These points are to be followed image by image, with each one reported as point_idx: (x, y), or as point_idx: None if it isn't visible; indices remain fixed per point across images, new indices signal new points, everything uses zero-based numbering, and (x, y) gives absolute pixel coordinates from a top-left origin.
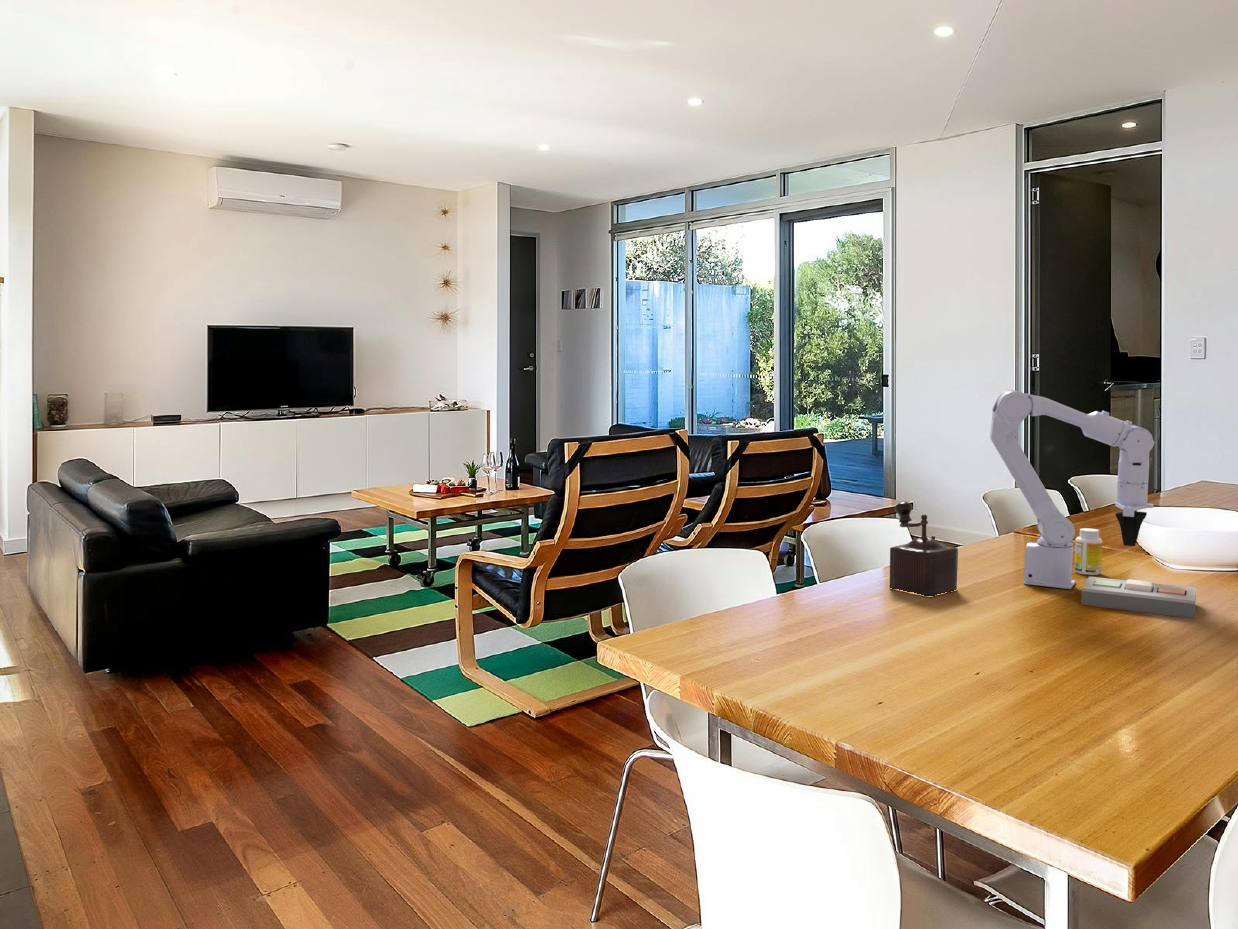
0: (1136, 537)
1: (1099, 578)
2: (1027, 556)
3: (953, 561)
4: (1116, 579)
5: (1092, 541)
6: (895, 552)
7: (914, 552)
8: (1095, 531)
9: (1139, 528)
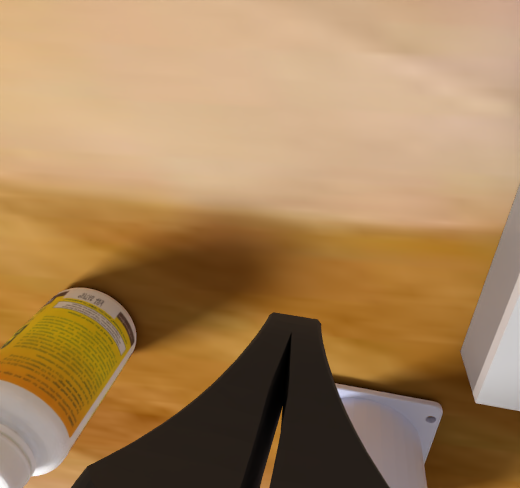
0: (328, 366)
1: (514, 373)
2: None
3: None
4: (517, 309)
5: (52, 430)
6: None
7: None
8: None
9: (340, 427)
